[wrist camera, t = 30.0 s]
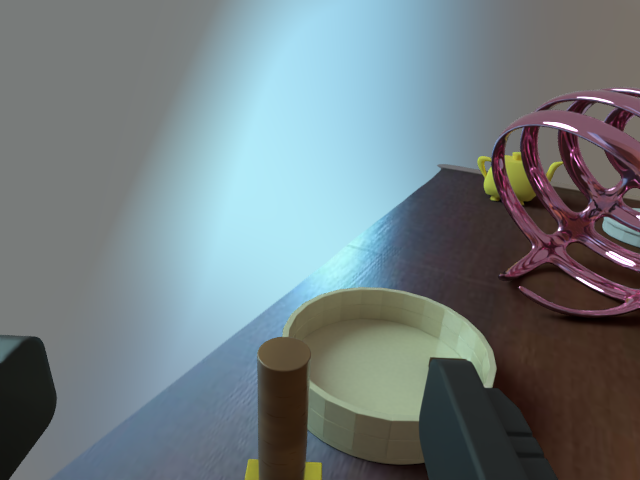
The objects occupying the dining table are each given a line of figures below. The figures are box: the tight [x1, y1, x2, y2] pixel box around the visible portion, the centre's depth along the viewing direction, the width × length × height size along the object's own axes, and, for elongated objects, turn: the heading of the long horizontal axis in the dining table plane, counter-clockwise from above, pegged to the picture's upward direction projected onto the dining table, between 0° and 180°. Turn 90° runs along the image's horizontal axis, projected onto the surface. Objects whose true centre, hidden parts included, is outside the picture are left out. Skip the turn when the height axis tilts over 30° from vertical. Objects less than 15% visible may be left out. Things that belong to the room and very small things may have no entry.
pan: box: [282, 287, 497, 465], centre depth 40 cm, size 19×19×4 cm
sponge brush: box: [244, 337, 322, 480], centre depth 25 cm, size 5×5×14 cm
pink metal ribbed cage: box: [491, 87, 640, 318], centre depth 53 cm, size 28×28×27 cm
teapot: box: [478, 152, 563, 205], centre depth 96 cm, size 18×11×11 cm, turn 62°
